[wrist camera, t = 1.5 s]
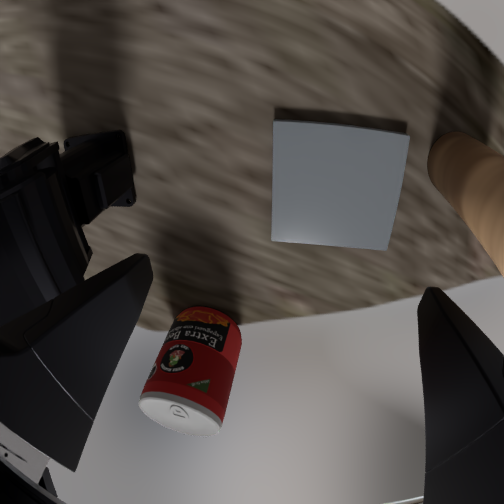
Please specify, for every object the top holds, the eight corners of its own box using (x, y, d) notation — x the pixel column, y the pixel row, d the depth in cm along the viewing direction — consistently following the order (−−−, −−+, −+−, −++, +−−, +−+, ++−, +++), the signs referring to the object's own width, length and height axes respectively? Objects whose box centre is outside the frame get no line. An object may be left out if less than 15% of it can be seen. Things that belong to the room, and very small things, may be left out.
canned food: (234, 303, 29) (204, 405, 20) (250, 353, 33) (230, 441, 24) (164, 303, 30) (121, 390, 21) (189, 350, 35) (160, 429, 26)
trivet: (272, 235, 24) (271, 240, 23) (274, 119, 18) (273, 121, 18) (384, 244, 22) (386, 250, 22) (406, 133, 17) (409, 136, 16)
